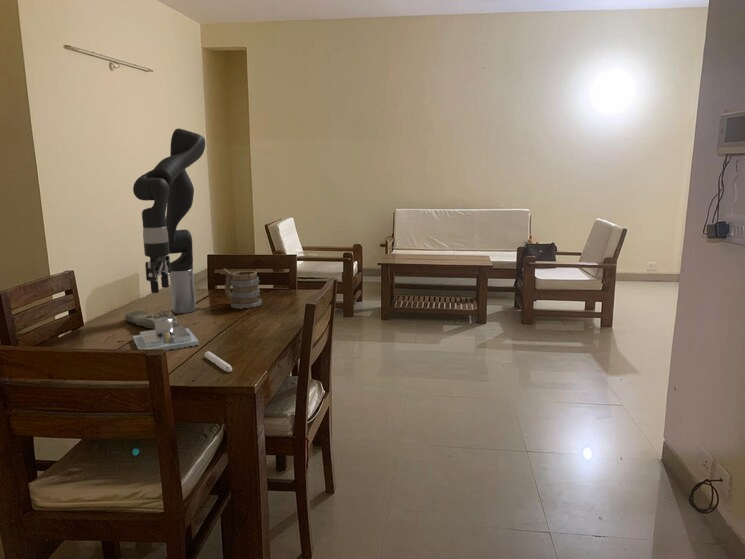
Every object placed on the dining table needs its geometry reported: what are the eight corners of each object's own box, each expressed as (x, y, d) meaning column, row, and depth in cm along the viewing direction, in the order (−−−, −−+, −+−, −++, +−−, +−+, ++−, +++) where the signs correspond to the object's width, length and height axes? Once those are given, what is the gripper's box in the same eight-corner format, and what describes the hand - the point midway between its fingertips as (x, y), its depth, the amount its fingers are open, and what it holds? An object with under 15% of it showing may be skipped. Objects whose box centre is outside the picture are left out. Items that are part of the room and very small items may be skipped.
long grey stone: (143, 319, 220) (118, 325, 213) (141, 306, 219) (116, 312, 212) (187, 326, 196) (160, 333, 189) (185, 311, 195) (158, 318, 188)
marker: (235, 373, 156) (234, 365, 156) (228, 375, 155) (227, 367, 155) (211, 357, 170) (210, 349, 170) (204, 358, 169) (204, 351, 169)
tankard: (267, 303, 237) (266, 269, 234) (246, 310, 227) (244, 274, 224) (234, 298, 248) (232, 265, 245) (212, 304, 237) (210, 270, 234)
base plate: (133, 340, 188) (132, 327, 187) (188, 332, 196) (187, 319, 196) (140, 354, 172) (138, 341, 172) (199, 345, 181) (198, 332, 180)
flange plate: (140, 336, 187) (138, 317, 186) (183, 330, 194) (181, 311, 192) (145, 347, 175) (143, 327, 174) (191, 340, 181) (189, 320, 180)
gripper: (158, 243, 171) (163, 294, 174) (175, 238, 185) (179, 285, 188) (134, 244, 171) (139, 295, 174) (153, 238, 185) (157, 285, 188)
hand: (160, 290), depth 181 cm, fingers open, 8 cm apart
